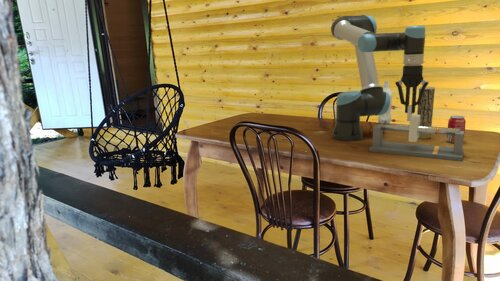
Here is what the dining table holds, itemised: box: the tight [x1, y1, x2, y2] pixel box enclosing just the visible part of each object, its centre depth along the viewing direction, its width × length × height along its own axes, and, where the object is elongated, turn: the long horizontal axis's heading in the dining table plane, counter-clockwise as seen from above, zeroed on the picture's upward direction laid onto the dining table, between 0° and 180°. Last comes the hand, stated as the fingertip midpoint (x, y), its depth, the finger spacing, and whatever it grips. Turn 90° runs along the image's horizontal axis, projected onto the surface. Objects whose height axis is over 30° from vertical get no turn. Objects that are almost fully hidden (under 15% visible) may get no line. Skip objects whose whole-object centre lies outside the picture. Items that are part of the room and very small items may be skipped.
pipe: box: [377, 122, 460, 136], centre depth 155 cm, size 32×3×3 cm, turn 59°
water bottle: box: [377, 80, 393, 124], centre depth 211 cm, size 7×7×25 cm
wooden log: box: [416, 86, 436, 140], centre depth 176 cm, size 7×7×25 cm
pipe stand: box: [368, 124, 465, 162], centre depth 156 cm, size 36×14×10 cm, turn 59°
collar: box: [407, 114, 421, 143], centre depth 155 cm, size 3×9×10 cm, turn 149°
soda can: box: [446, 115, 466, 144], centre depth 168 cm, size 7×7×12 cm
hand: (409, 120), depth 155 cm, fingers closed
